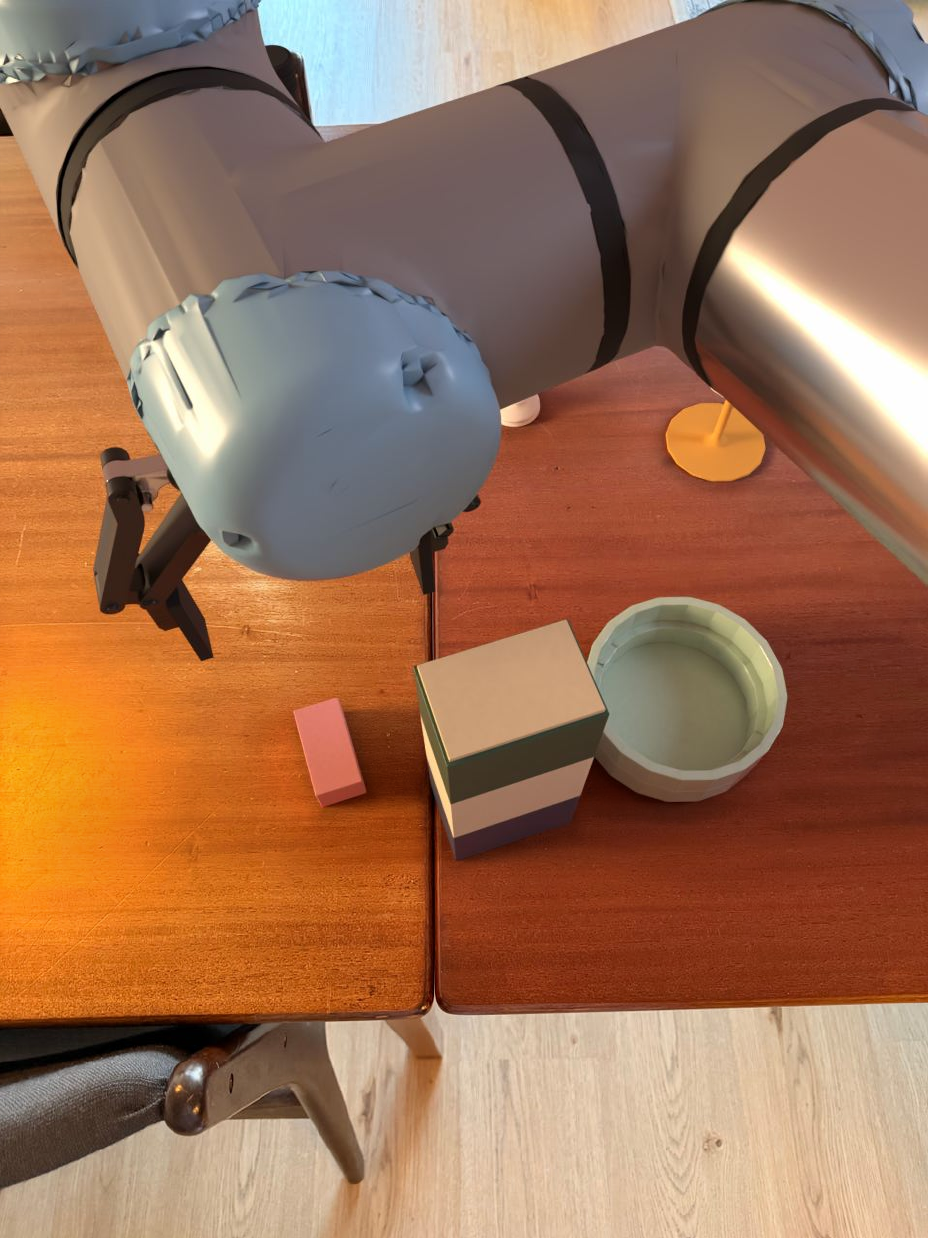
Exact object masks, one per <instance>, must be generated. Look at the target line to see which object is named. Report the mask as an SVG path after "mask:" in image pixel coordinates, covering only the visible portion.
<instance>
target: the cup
mask: <svg viewBox="0 0 928 1238" xmlns="http://www.w3.org/2000/svg"><path fill="white" fill-rule="evenodd" d="M710 389H711V391H713V392H714V393H716V394H717V395H719V396H720V397H722V398H723V399H725V398H724V397H723V396H721V395H720V394H719V393H717V392H716V391H715V390H713V389H712V388H710ZM665 439H666V448H667V451H668V453H669V454H670V456H671V457H672V459H673V461H674V462H675V464H676V465H677V466H679V467H680V468H681V469H683V470H684V471H686V472H687V473H688V474H689V475H691V476H693V477H695V478H699V479H703V480H705V481H708V482H715V483H716V482H734V481H736V480H737V481H738V480H739V479H742V478H745V477H748V476H750V475H751V473H753V471H755V470H756V469H757V468H758V467H760V465H761V464H762V461H763V458H764V455H765V452H766V448H767V447H766V442H765V438H764V435H763V434H762V433H761V432H760V431H759V430H758V429H757V428H756V427H755V426H754V425H753V424H752V423H750V422H749V421H748V420H747V419H746V418H745V417H744V416H743V415H742V414H741V413H740V412H739V411H738V410H737V409H735V408H734V407H733V406H732V405H731V404H730V403H729V402H728V401H727V400H726V399H725V401H724V403H721V402H700V403H696V404H694V405H691V406H688V407H685V408H683V409H682V410H680V411H679V412H678V413H677V414H676V415H675V416H674V417H673V418H671V419H670V422H669V425H668V427H667V430H666V432H665Z"/></svg>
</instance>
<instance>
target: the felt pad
mask: <svg viewBox="0 0 928 1238" xmlns="http://www.w3.org/2000/svg"><path fill="white" fill-rule="evenodd" d="M562 620H563V621H562ZM562 620H558V621H559V622H558V621H555V622H556V623H555V622H552V623H553V624H552V623H549V624H550V625H549V624H546V626H545V625H542V626H543V627H542V626H539V627H540V628H539V627H536V628H537V629H536V628H533V629H534V630H532V629H529V630H530V631H529V630H526V631H527V632H526V631H523V632H524V633H523V632H520V633H521V634H520V633H517V635H516V634H514V636H513V635H511V637H510V636H507V637H508V638H507V637H503V638H504V639H503V638H500V639H501V640H500V639H497V640H498V641H497V640H494V641H495V642H494V641H490V642H491V643H490V642H487V643H488V644H487V643H484V644H485V645H484V644H481V645H482V646H481V645H478V647H477V646H475V648H474V647H472V649H471V648H468V649H469V650H468V649H465V651H464V650H461V651H462V652H461V651H458V652H459V653H458V652H455V653H456V654H455V653H452V655H451V654H448V655H449V656H448V655H445V656H446V657H445V656H442V657H443V658H442V657H439V659H438V658H435V659H436V660H435V659H432V660H433V661H432V660H429V661H430V662H429V661H426V662H427V663H425V662H422V663H423V664H422V663H419V664H420V665H419V664H416V665H417V668H418V671H419V674H420V677H421V680H422V683H423V686H424V689H425V692H426V695H427V698H428V701H429V704H430V706H431V709H432V712H433V715H434V718H435V721H436V724H437V727H438V730H439V733H440V736H441V739H442V742H443V745H444V748H445V750H446V753H447V756H448V759H449V762H452V761H455V760H458V759H461V758H464V757H467V756H470V755H473V754H476V753H480V752H483V751H486V750H489V749H492V748H495V747H498V746H501V745H504V744H507V743H510V742H513V741H516V740H519V739H523V738H526V737H529V736H532V735H535V734H538V733H541V732H544V731H547V730H550V729H553V728H556V727H559V726H562V725H566V724H569V723H572V722H575V721H578V720H581V719H584V718H587V717H590V716H593V715H596V714H599V713H602V712H605V707H604V704H603V702H602V700H601V697H600V695H599V693H598V690H597V688H596V686H595V684H594V681H593V679H592V677H591V674H590V672H589V670H588V668H587V665H586V663H585V661H584V658H583V656H582V654H581V652H580V649H579V647H578V645H577V642H576V640H575V638H574V636H573V633H572V631H571V629H570V626H569V624H568V622H567V620H565V619H562Z"/></svg>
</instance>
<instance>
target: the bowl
mask: <svg viewBox="0 0 928 1238" xmlns="http://www.w3.org/2000/svg"><path fill="white" fill-rule="evenodd" d="M587 664H588V666H589V668H590V670H591V673H592V675H593V677H594V680H595V682H596V684H597V686H598V689H599V691H600V693H601V696H602V698H603V700H604V702H605V705H606V707H607V709H608V712H609V717H608V720H607V723H606V725H605V728H604V731H603V734H602V737H601V739H600V742H599V745H598V748H597V750H596V753H595V756H594V758H595V759H596V760H597V762H598V763H599V765H601V766H602V768H603V769H604V770H605V771H606V772H607V773H608V775H609V776H611V778H613V779H614V780H616V781H618V782H620V783H621V784H623V786H626V787H627V788H629V789H630V790H632V791H633V792H635V793H637V794H638V795H639V794H640V795H642V796H646V797H649V798H653V799H656V800H659V801H663V802H667V803H676V802H677V803H680V802H685V803H686V802H700V801H703V800H706V799H709V798H712V797H715V796H717V795H721V794H723V793H726V792H728V791H729V790H730V789H731V788H733V787H734V786H735V785H736V784H738V782H740V781H741V780H743V779H744V778H745V777H746V776H748V774H749V773H750V772H752V770H753V769H754V768H755V766H756V765H757V764H758V763H759V762H760V761H761V759H762V758H763V757H765V755H766V754H767V753H768V752H769V750H770V749H771V747H772V745H773V743H774V742H775V740H776V738H777V737H778V735H779V734H780V732H781V730H782V728H783V725H784V721H785V717H786V716H785V715H786V709H787V703H788V692H787V687H786V681H785V677H784V671H783V668H782V666H781V663H780V661H779V660H778V658H777V657H776V655H775V653H774V651H773V649H772V648H771V645H770V644H769V642H768V640H767V639H766V638H764V636H763V635H761V633H759V631H758V630H757V629H756V628H755V627H754V626H753V625H752V624H751V623H750V622H749V621H747V619H745V618H744V617H742V616H740V615H738V614H736V613H735V612H733V611H731V610H730V609H728V608H726V607H724V606H722V605H721V604H719V603H715V602H711V601H708V600H703V599H699V598H696V597H692V596H659V597H655V598H652V599H649V600H645V601H642V602H638V603H636V604H632V605H630V606H629V607H628V608H625V610H623V611H621V612H620V613H619V614H617V615H615V616H614V617H613V618H612V619H611V620H609V621H608V622H607V623H606V624H605V626H604V627H603V628H602V630H601V632H600V633H599V634H598V636H597V637H596V639H595V640H594V641H593V642H592V645H591V647H590V652H589V654H588V658H587Z"/></svg>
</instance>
